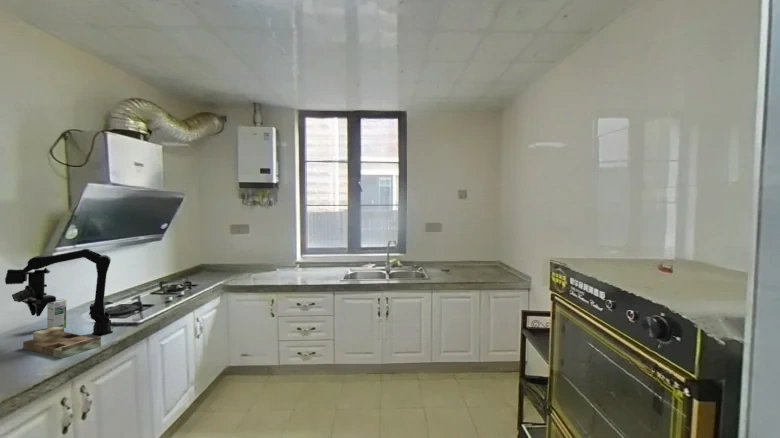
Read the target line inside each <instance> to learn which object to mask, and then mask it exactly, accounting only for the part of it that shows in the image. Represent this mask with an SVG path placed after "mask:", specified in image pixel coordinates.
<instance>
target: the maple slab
mask: <svg viewBox="0 0 780 438" xmlns="http://www.w3.org/2000/svg"><path fill="white" fill-rule="evenodd" d="M64 332H65V327H64V328H61V327H53V328H49V329H48V328H45V329H42V330H37V331H34V332H33V334H32V335H33V336H32V339H33V340H36V341H40V342H41V341H45V340H48V339H52V338H56V337H59V336H63V335H64Z"/></svg>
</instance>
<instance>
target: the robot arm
mask: <svg viewBox="0 0 780 438" xmlns="http://www.w3.org/2000/svg"><path fill="white" fill-rule="evenodd" d="M83 258H85V259H87V260H88V261H90V262H92V263H94V264H95V268H96V275H97V277H96V285H95V286H96V287H95V295H94V296H95V297H94V303H90V305H89V313H88V315H89V316H90V319H92V320H93V321H94V322H93V324H94V325H93V328H92V331H93V332H92V333H91V335H95V336H98V337H99V336H101V337H102V336H105V335H108V334H111V333H113V332H114V331H113V330H112V319H110V318H111V314H110V313H109V312H107V311H106V304H105V292H106V291H105V290H106V283H107V273H108V270H109V268H110V264H111V261H112V260H111V258H110V256H108V255H106V254H104V255H103V254H100V253H98V252H96V251H93V250H92V249H89V248H83V249H79V250H73V251H69V252H64V253H59V254H54V255H53V254H52V255H51V254H50V255H47V254H46V255H45V254H44V255H36V256H33V257H31V258H29V259H28V261H27V265H26V266H24V268H23V269H12V268H11V269H7V270H6V274H5V278H4V282H5V285H22V284H24V283H25V282H27V281H28V282H27V285H25V286H24V289H22V290H20V291H17V292H14V293H13V294H12V295H11V297H12V299H13V301H14V302H17V303H21V302H22V303H24V304H26V305H27V307H28V309H29V311H30V314H31V316H36V317H41V315H42V313H43V312H44V310H45V308H46V307H47V304H48V303H51V302H56V300H57V296H55V295H51V294H47V292H45V288H47V287H48V286H47V285H48V284H45V283H46V282H45V281H46V280H45V279H46V277H45V276H46V274H49V273H51V270H49V269H48V268H47V267H49V266H50V265H54V264H59V263H62V262H67V261H72V260H77V259H83ZM42 268H43V269H42ZM32 270H34V271H32Z"/></svg>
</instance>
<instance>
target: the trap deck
mask: <svg viewBox="0 0 780 438" xmlns="http://www.w3.org/2000/svg"><path fill="white" fill-rule="evenodd" d="M101 340H102V336H99V335H98V336H97V337H90V336H86V335H81V334H77V333H71V332H67V331H64V335H63V336H59V337H56V338H52V339H48V340H45V341H41V342H40V341H36V340H33V338H31V339H28V340H25V341H23V342H22V349H24V350H28V351H31V352H36V353H40V354H45V355H49V356H52V357H55V358H61V359H64V358H66V357H67V358H68V357H70V356H73V355H76V354H77V355H78V354H79V353H83V352H86V351H90V350H92V349H95V348H99V347H101V345H102V343H101V342H102V341H101Z"/></svg>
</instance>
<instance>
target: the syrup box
mask: <svg viewBox="0 0 780 438" xmlns="http://www.w3.org/2000/svg"><path fill="white" fill-rule="evenodd" d="M46 307H47V308H46V315H47V316H46V320H47V321H46V323H47V324H46V329H49V328H53V327H61V328H64V329H65V328H66V327H67V300H66V299H63V298H58V299H56V302H51V303H48V304H47V305H46Z"/></svg>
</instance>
